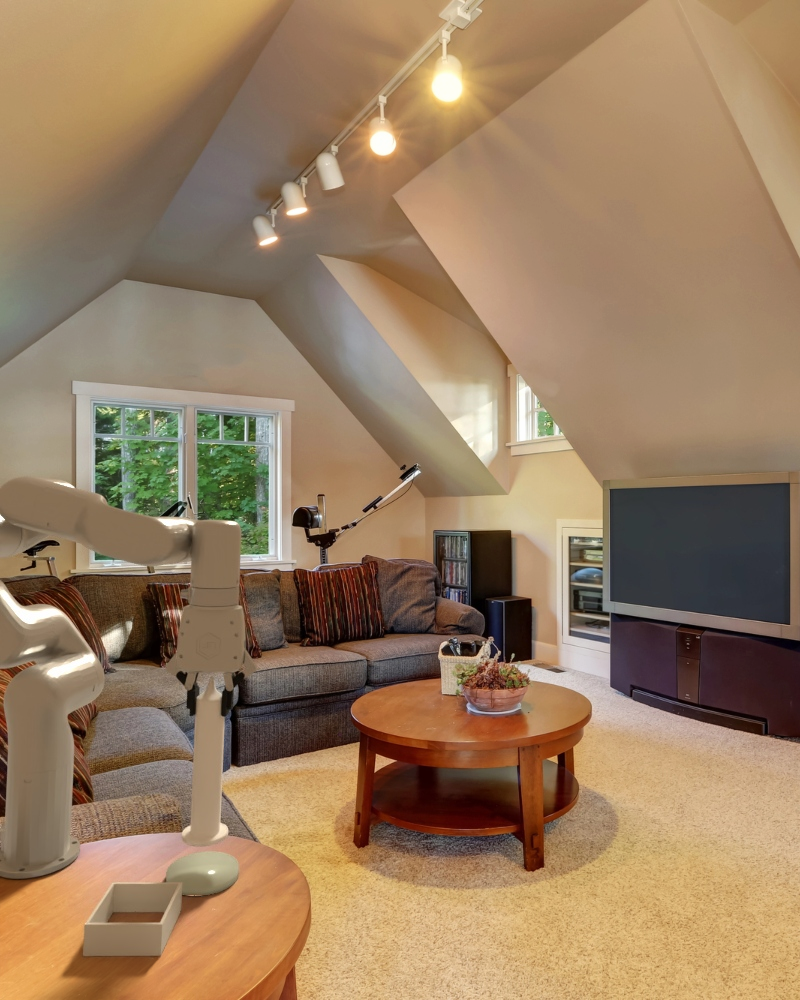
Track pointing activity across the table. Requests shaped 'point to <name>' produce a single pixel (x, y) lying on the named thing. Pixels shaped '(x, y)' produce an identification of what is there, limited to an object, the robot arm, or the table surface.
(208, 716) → the candle
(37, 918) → the table surface
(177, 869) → the pale green dome
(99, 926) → the tray
